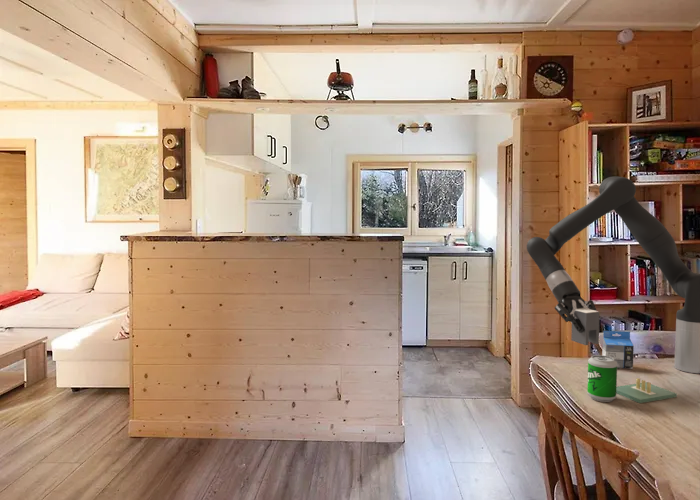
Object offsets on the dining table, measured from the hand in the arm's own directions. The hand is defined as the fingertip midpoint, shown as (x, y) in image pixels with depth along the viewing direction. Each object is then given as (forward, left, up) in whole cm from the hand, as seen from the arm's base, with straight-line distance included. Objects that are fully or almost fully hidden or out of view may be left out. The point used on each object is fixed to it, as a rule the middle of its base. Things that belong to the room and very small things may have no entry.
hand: (589, 330), depth 147 cm
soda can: (+7, +7, -18) cm, 20 cm away
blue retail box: (-26, -3, -18) cm, 32 cm away
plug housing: (-1, -2, -4) cm, 5 cm away
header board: (-6, +13, -18) cm, 23 cm away
